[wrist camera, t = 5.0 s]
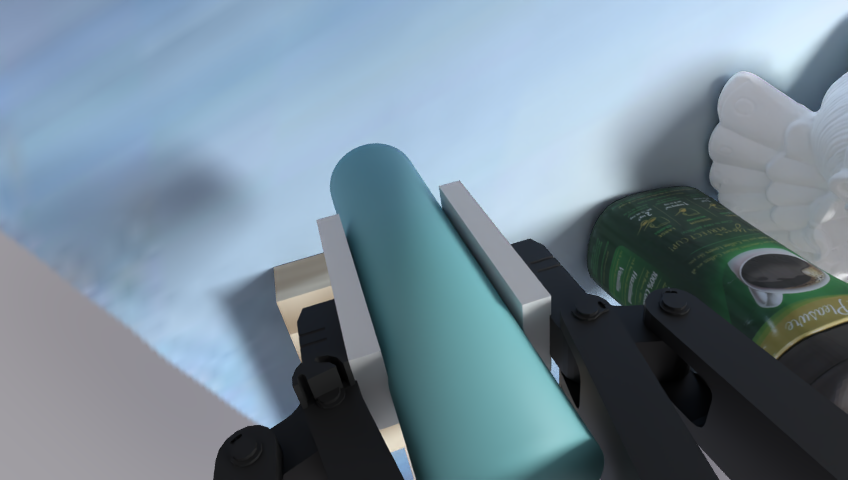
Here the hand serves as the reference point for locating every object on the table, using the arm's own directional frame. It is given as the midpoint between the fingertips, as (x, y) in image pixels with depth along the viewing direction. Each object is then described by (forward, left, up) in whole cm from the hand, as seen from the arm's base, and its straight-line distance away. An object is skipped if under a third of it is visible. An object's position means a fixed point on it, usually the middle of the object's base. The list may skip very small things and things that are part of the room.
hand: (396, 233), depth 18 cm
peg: (0, 0, -4) cm, 4 cm away
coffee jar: (+14, +20, -12) cm, 27 cm away
